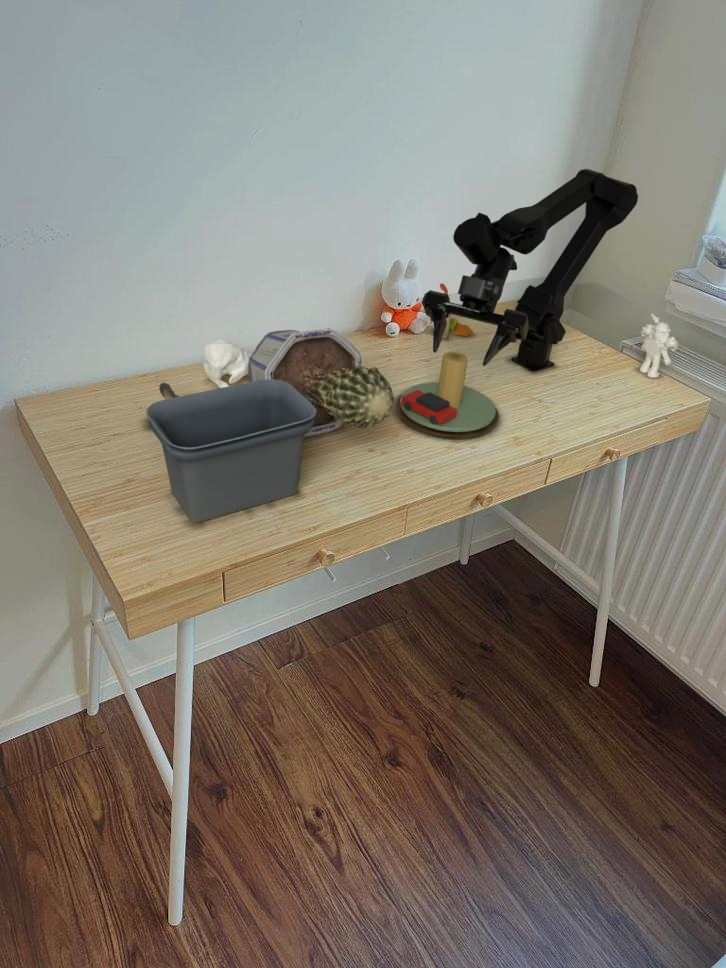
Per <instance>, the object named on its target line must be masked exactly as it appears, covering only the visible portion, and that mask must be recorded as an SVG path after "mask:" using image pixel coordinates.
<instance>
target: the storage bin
mask: <svg viewBox="0 0 726 968" xmlns="http://www.w3.org/2000/svg"><path fill="white" fill-rule="evenodd" d="M179 396H180V397H175V398H170V399H162V400H159V401H156V402H153V403H152V404H150V405H149V406H148V407H147V408H146V410H145V415H146V417H147V419H148V421H149V420H150V427H149V428H150V429H151V430H152V432H153V433H154V435H155V436H156V438H157V440H159V442H160V444H161V447H162V451H163V457H164V460H165V461H164V462H165V465H166V466H165V467H166V470H167V474H168V481H169V485H170V489H171V493H172V496H173V498H175V500H176V502H177V503H178V504H179V506H180V507H181V509H182V510H183V511H184V514H185V515H186V516H187V518H188V520H189V521H190V522H193V523H202V522H206V521H209V520H212V519H216V518H218V517H222V516H225V515H229V514H233V513H236V512H239V511H243V510H246V509H250V508H253V507H257V506H260V505H264V504H267V503H271V502H274V501H277V500H280V499H284V498H288V497H291V496H293V495H296V494H297V493H298V491H299V484H300V475H301V467H302V458H303V450H304V441H305V437H304V435H305V432H306V431H308V430H310V429H311V428H312V427H313V425H314V421H313V417H314V416H315V415H316V412H317V411H316V408H315V407H314V406H313V405H312V404H311V403H310V402H309V401H308V400H307V399H306V398H305V397H304V396H303V395H302V394H300V393H299V392H298V391H297V390H296V389H295V388H294V387H293V386H292V385H290V384H289V383H287V382H285V381H281V380H274V379H266V380H259V381H253V382H249V381H248V382H244V383H238V384H234V385H233V384H232V385H229V386H228V387H223V388H219V387H218V388H214V389H209V390H205V391H199V392H195V393H191V394H184V395H179Z"/></svg>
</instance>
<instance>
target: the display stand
mask: <svg viewBox="0 0 726 968" xmlns="http://www.w3.org/2000/svg"><path fill="white" fill-rule="evenodd" d="M402 394H403V393H401V394H400V395H399V396H398V398H397V399H396V401H395V413H396V415H397V417H398V418H399V420H400V421H401V422H402V423H403V424H405V425H406V426H407V427H409V428H410V429H412V430H414V431H416V432H418V433H421V434H423V435H427V436H429V437H433V438H438V439H443V440H454V441H455V440H457V441H459V440H462V441H463V440H472V439H477V438H480V437H481V438H482V437H483V436H485V435H488V434H490V433H491V432H492V431H493V430H495V428H496V427H497V426H498V422H499V417H500V416H499V412H498V409H497V408H496V407H495V409H496V413H495V417H494V419H493V421H492V422H491V423H490V424H489V425H487V426H486V427H483V428H481V429H478V430H473V431H467V432H450V431H442V430H437V429H433V428H429V427H426V426H424V425H421V424H419V423H417V422H415V421H413V420H412V419H410V418H409V417H408V416H407V415H406V414H405V413H404V412H403V411H402V409H401V406H400V399H401V396H402Z"/></svg>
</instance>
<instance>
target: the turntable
mask: <svg viewBox="0 0 726 968" xmlns="http://www.w3.org/2000/svg"><path fill="white" fill-rule="evenodd" d="M468 361H469V357H468V356H467V354H465V353H463V352H459V351H447V352H444V353H443V354H442V359H441V366H440V372H439V379H438V381H436V382H435V381H433V382H431V381H430V382H425V383H418V384H416V385H412V386H411V387H409V388H407V389H406V390H405V391H404V392H403V393H401V394H402V396H401V399H400V406H401V409H402V411H403V412H404V413H405V414H406V415H407V416H408V417H409V418H410V419H412V420H413V421H415V422H417V423H419V424H421V425H424V426H426V427H429V428H433V429H437V430H442V431H450V432H467V431H473V430H478V429H481V428H483V427H486V426H487V425H489V424H490V423H491V422H492V421H493V419H494V417H495V413H496V409H497V408H496V406H495V404H494V403H493V401H492V400H491V399H490V398H489V397H488V396H486V395H485V394H484V393H482V392H481V391H478V390H476V389H474V388H472V387H468V386H464V385H465V380H466V373H467V367H468V363H469V362H468ZM495 408H496V409H495Z"/></svg>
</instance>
